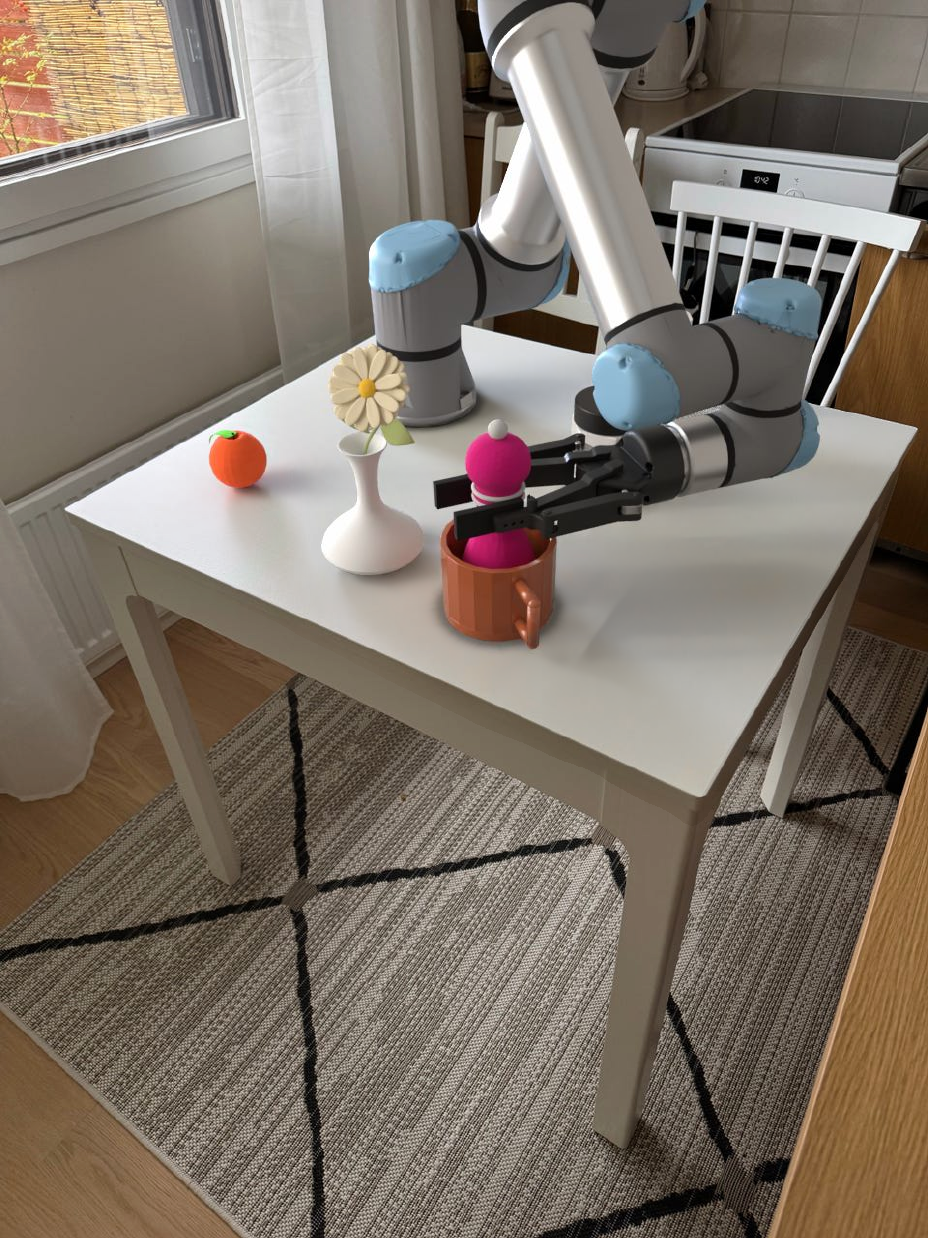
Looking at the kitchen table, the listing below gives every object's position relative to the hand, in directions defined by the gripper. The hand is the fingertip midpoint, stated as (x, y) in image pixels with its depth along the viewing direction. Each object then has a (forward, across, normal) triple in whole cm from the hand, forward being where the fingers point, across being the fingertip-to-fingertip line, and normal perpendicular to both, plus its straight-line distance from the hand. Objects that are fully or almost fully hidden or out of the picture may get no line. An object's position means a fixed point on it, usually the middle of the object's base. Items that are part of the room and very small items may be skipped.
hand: (445, 510), depth 83 cm
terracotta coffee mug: (-5, -2, -13) cm, 14 cm away
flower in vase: (+4, +13, -13) cm, 19 cm away
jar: (-25, +16, -13) cm, 33 cm away
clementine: (+16, +35, -13) cm, 41 cm away
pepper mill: (-5, 0, -12) cm, 13 cm away
